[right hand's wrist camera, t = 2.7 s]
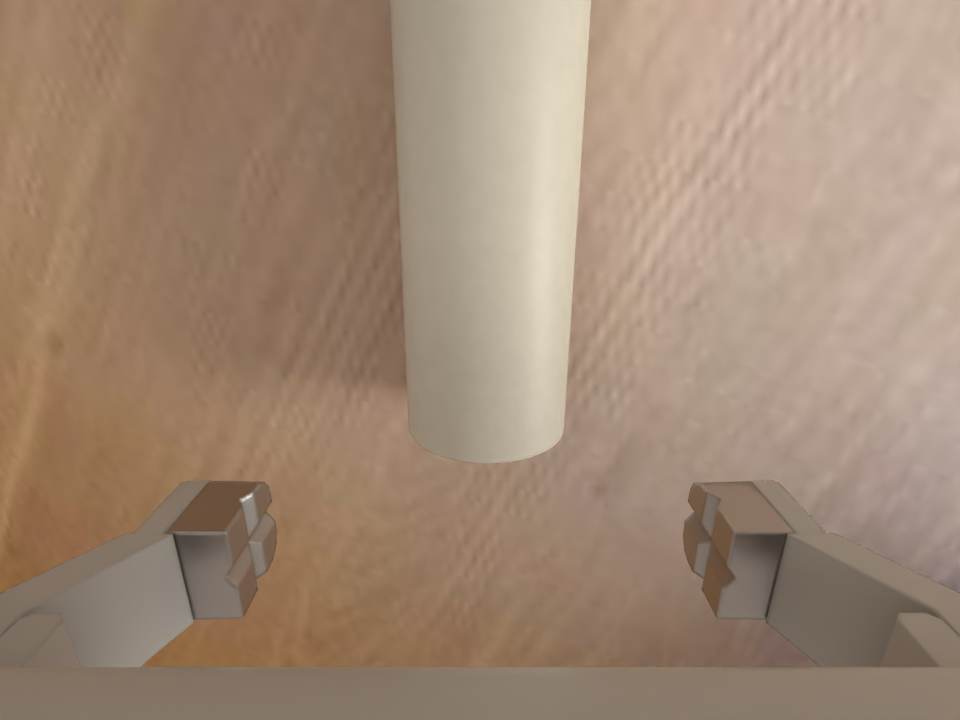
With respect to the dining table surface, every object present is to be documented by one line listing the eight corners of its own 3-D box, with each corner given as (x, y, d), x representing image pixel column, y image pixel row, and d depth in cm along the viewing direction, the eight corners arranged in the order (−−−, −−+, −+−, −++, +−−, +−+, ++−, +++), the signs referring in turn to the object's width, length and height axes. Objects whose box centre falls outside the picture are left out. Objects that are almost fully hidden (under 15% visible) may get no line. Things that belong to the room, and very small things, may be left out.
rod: (553, 394, 24) (575, 464, 18) (418, 393, 24) (397, 463, 18) (604, -537, 15) (683, -985, 9) (383, -538, 15) (322, -987, 9)
